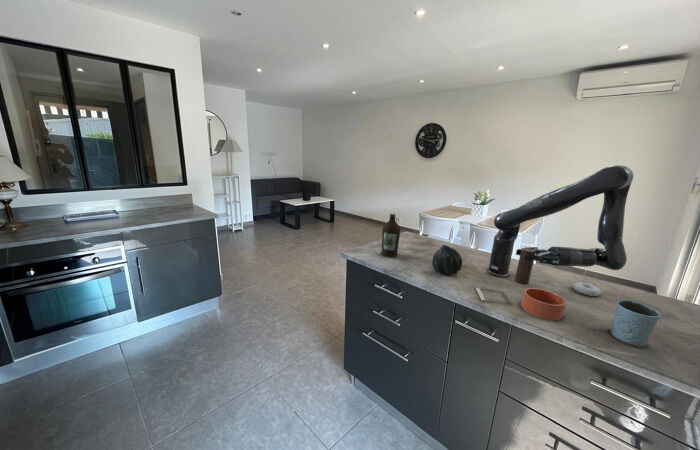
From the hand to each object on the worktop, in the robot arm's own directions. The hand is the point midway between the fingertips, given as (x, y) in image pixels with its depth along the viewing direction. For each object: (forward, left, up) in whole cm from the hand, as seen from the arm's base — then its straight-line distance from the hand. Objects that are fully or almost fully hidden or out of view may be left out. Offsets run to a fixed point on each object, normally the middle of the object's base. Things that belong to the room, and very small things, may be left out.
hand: (520, 254), depth 105 cm
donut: (-22, +39, -22) cm, 50 cm away
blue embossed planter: (+14, +32, -22) cm, 41 cm away
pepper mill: (-1, +3, -12) cm, 12 cm away
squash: (-25, -23, -22) cm, 40 cm away
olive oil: (-41, -54, -22) cm, 71 cm away
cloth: (-4, -6, -22) cm, 23 cm away
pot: (+3, +10, -22) cm, 24 cm away
